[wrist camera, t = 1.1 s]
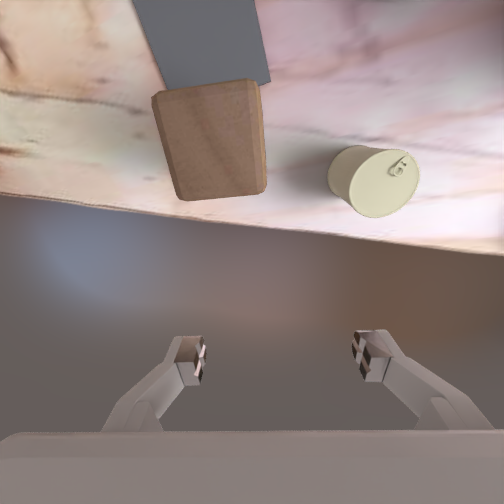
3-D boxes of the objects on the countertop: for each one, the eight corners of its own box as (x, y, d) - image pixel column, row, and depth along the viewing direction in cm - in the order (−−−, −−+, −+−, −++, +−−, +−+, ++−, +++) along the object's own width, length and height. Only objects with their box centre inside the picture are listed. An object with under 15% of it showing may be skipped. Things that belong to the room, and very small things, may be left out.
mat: (220, -157, 24) (219, -164, 23) (270, 81, 33) (270, 80, 33) (101, -82, 27) (98, -87, 26) (179, 117, 36) (178, 116, 36)
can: (391, 162, 38) (439, 171, 27) (355, 206, 42) (386, 230, 31) (349, 134, 36) (384, 133, 26) (317, 183, 40) (335, 200, 30)
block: (214, 175, 41) (175, 204, 23) (202, 113, 36) (142, 90, 18) (266, 169, 40) (267, 195, 22) (261, 104, 35) (258, 73, 17)
